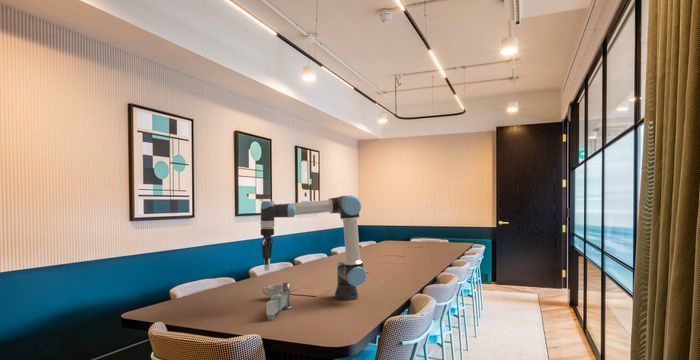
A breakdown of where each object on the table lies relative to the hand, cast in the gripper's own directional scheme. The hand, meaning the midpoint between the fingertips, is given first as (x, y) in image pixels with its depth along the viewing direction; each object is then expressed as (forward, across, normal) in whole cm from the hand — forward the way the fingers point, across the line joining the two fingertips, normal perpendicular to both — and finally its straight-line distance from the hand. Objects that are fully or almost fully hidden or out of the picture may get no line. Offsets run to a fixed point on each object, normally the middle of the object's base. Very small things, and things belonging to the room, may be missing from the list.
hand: (267, 270), depth 228 cm
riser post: (+22, -8, +9) cm, 25 cm away
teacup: (+23, -26, -5) cm, 35 cm away
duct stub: (+22, +13, +9) cm, 27 cm away
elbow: (+21, +1, +8) cm, 23 cm away
